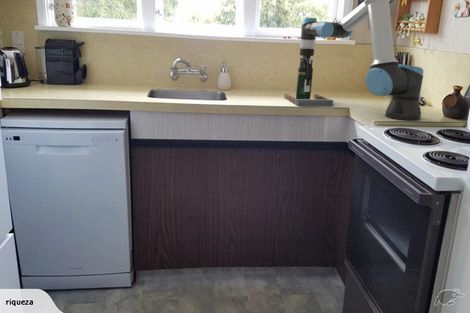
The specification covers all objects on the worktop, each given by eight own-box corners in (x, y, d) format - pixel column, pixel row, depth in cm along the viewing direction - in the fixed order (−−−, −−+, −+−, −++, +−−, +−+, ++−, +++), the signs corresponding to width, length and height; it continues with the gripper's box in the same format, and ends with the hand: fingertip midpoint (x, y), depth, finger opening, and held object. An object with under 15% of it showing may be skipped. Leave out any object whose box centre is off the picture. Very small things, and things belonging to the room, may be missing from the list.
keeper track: (331, 105, 218) (331, 100, 218) (296, 105, 216) (296, 100, 215) (315, 98, 241) (316, 93, 240) (284, 97, 238) (284, 93, 238)
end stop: (332, 106, 216) (333, 100, 215) (297, 106, 213) (298, 100, 212) (330, 105, 219) (331, 99, 218) (296, 104, 216) (296, 99, 215)
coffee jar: (309, 101, 229) (312, 66, 223) (294, 100, 230) (297, 65, 225) (311, 98, 238) (314, 65, 232) (296, 97, 239) (299, 64, 234)
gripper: (321, 49, 216) (317, 93, 223) (307, 47, 237) (304, 87, 244) (306, 48, 215) (303, 93, 222) (294, 47, 236) (291, 87, 242)
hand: (303, 90), depth 233 cm, fingers closed on coffee jar, 9 cm apart
